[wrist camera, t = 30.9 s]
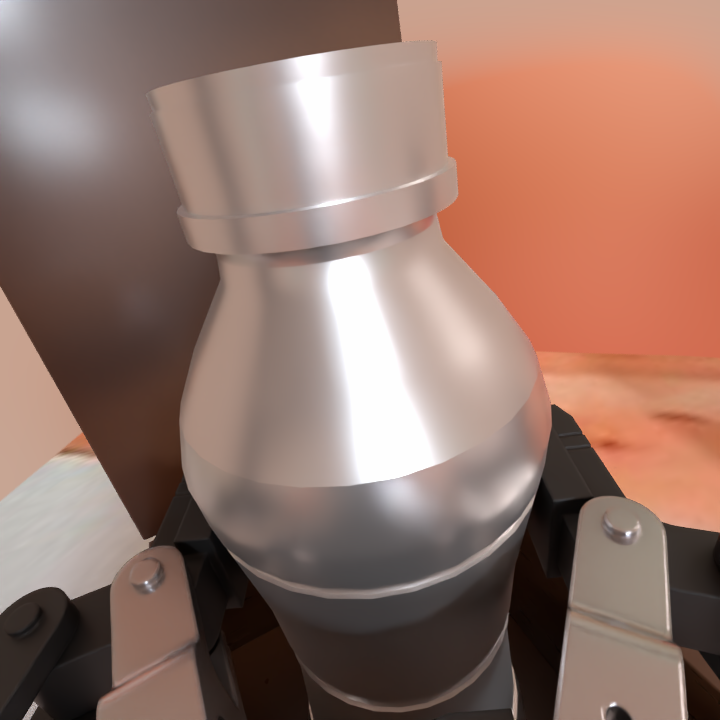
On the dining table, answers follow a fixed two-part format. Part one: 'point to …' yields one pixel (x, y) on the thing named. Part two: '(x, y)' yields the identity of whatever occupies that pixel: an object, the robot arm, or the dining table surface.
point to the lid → (126, 202)
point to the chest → (525, 634)
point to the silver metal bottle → (354, 380)
